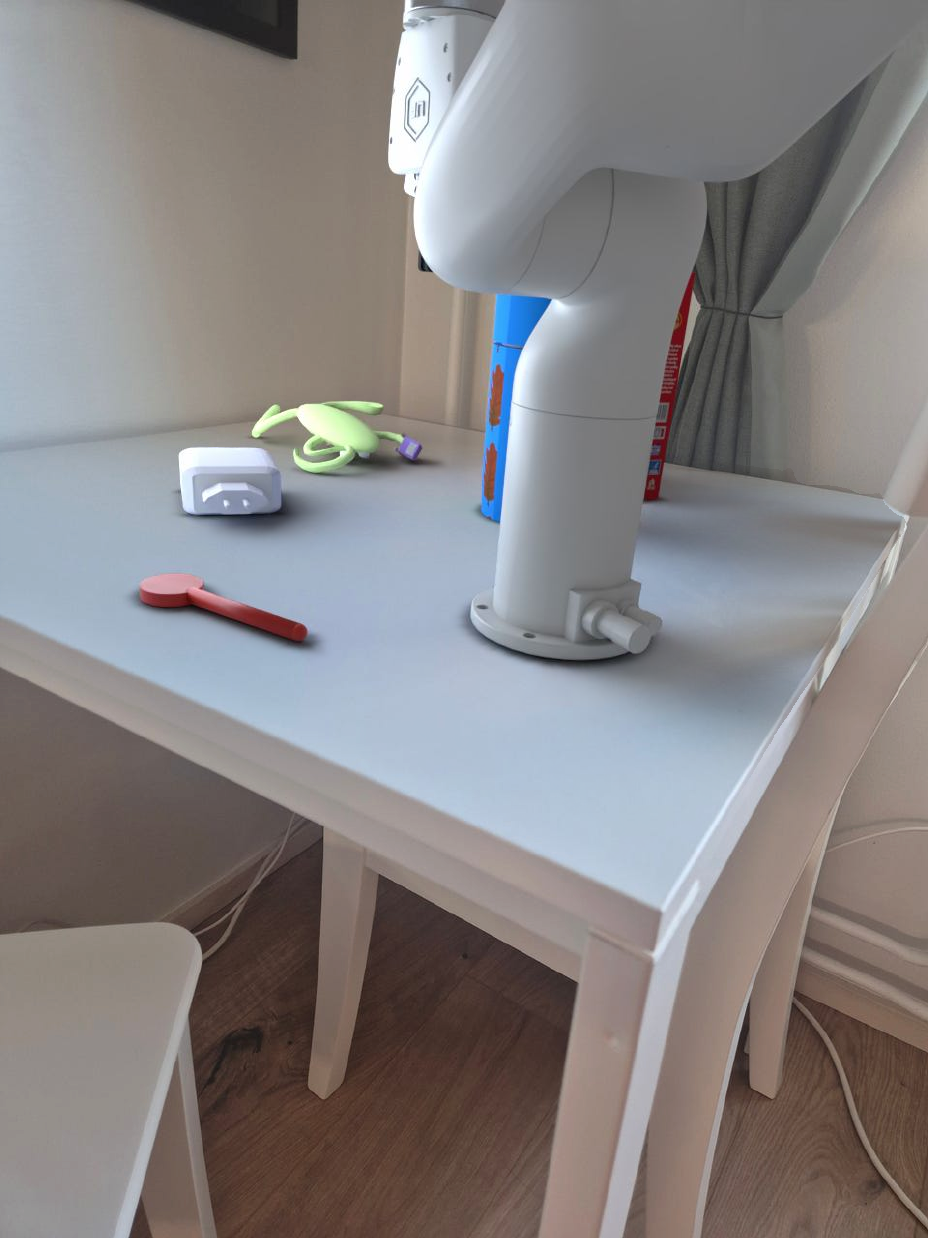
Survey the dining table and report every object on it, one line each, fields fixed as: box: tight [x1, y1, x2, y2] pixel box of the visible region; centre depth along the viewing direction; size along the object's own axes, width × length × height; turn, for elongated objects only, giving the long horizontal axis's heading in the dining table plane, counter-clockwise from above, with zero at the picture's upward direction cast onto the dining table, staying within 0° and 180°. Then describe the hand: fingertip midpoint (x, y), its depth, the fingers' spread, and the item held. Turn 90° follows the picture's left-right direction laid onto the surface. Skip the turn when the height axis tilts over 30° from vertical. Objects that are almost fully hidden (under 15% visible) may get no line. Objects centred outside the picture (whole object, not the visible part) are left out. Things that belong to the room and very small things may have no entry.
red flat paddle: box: [139, 572, 308, 642], centre depth 58 cm, size 15×4×1 cm, turn 58°
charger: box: [178, 446, 282, 516], centre depth 81 cm, size 5×9×15 cm
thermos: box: [480, 294, 552, 523], centre depth 84 cm, size 11×11×25 cm
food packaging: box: [643, 272, 696, 501], centre depth 99 cm, size 15×5×25 cm, turn 26°
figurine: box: [251, 400, 423, 474], centre depth 110 cm, size 18×27×6 cm
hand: (439, 271), depth 69 cm, fingers closed
